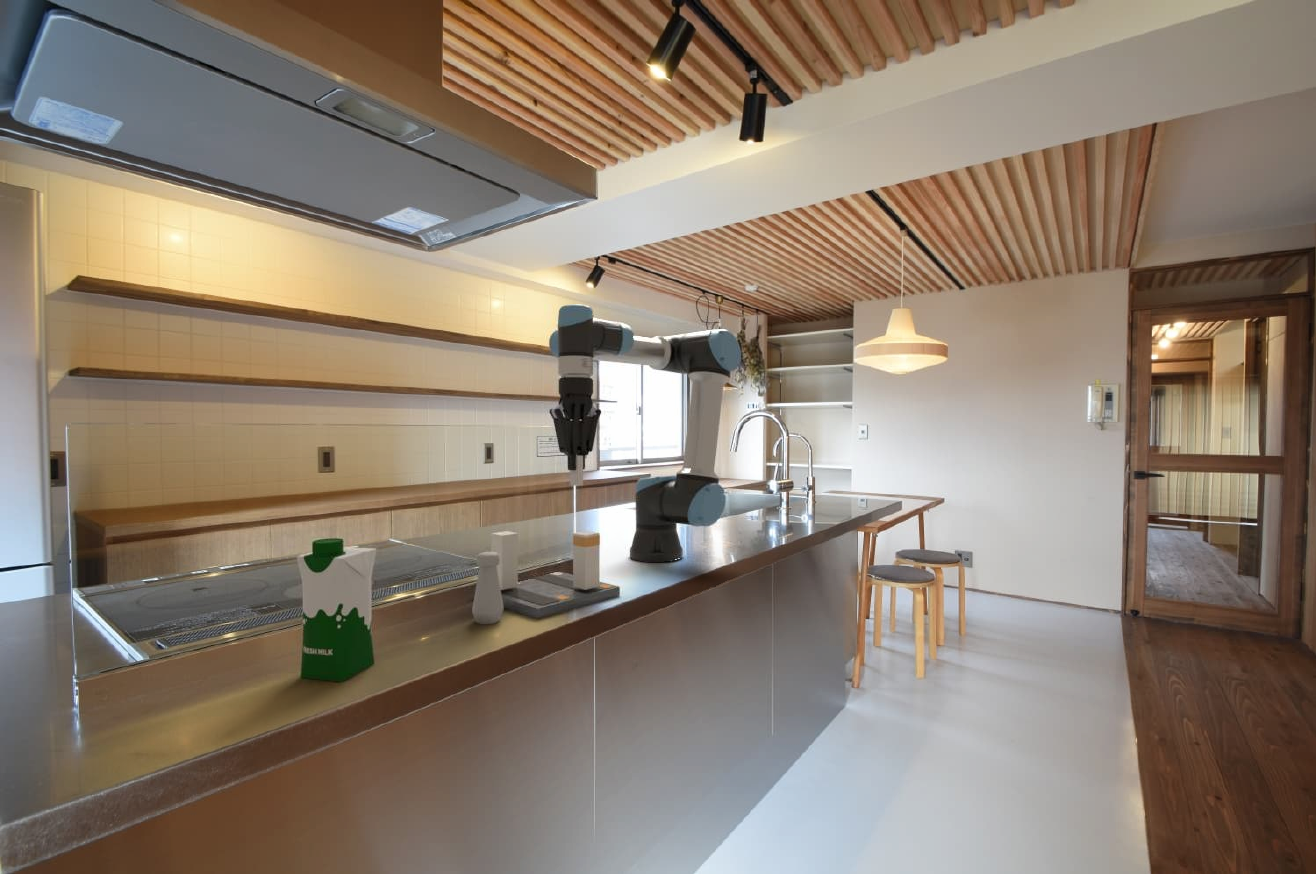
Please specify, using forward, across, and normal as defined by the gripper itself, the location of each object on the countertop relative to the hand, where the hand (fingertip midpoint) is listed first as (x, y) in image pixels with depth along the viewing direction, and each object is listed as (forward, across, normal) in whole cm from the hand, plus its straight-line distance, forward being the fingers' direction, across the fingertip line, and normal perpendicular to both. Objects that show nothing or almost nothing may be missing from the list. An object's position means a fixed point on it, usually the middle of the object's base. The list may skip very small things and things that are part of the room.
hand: (576, 485), depth 132 cm
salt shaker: (+24, -23, -2) cm, 34 cm away
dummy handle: (+22, -12, +9) cm, 27 cm away
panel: (+24, -5, +3) cm, 25 cm away
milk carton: (+24, -51, -6) cm, 57 cm away
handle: (+22, 0, -3) cm, 22 cm away
